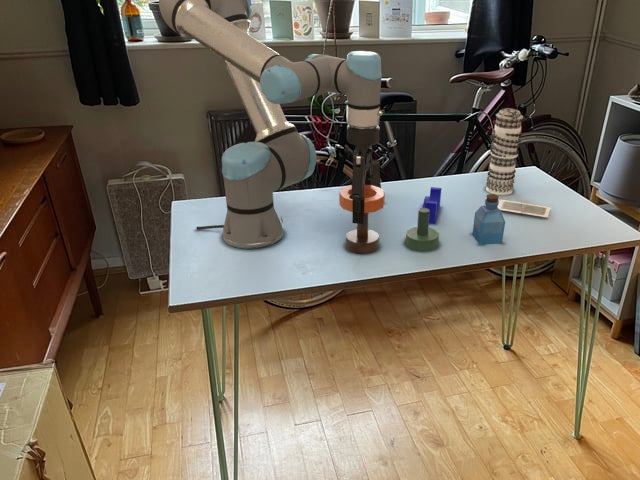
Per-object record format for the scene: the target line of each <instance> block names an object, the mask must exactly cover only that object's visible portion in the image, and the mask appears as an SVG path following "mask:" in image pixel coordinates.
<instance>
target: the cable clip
mask: <svg viewBox="0 0 640 480" xmlns="http://www.w3.org/2000/svg"><path fill="white" fill-rule="evenodd" d="M441 198H442V187H436V186H435V187H433V186H430V190H429V196H427V195H425V196H424V199H423V204H422V208H427V209H429V210H430V213H429V224H430V225H432V224H433V225H435V224H436V221H437V219H438V218H437V217H438V215H439V211H440V208H441V200H442V199H441Z"/></svg>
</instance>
